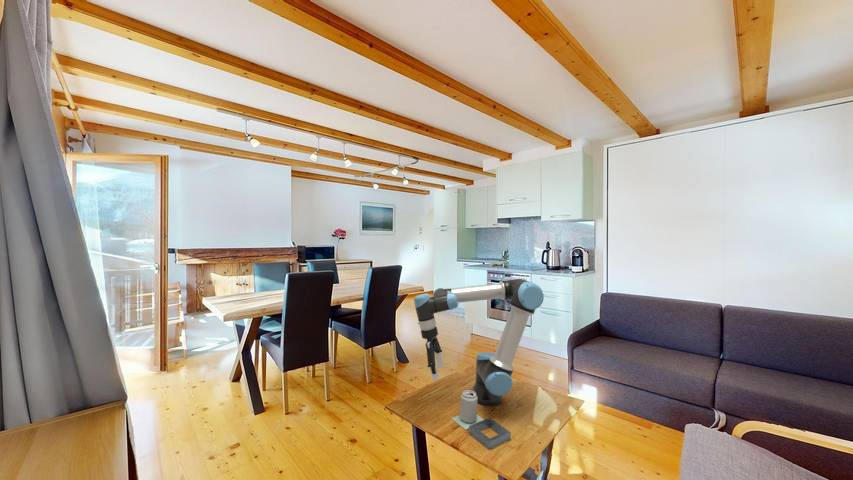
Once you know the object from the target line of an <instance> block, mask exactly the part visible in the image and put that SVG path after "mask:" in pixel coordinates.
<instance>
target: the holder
mask: <svg viewBox="0 0 853 480" xmlns="http://www.w3.org/2000/svg"><path fill="white" fill-rule="evenodd" d="M488 428H490V429H491V430H493V432H495V433H497V434H496V435H495V436H493V437H491V438H489V437H488V436H487V435H486V434H484V433H483V432H482V431H484V430H486V429H488ZM468 433H469V435H470V436H472V437H473V438H474V439H475V440H477V442H479V443H481V444H482V445H483V446H484V447H486V449H488V450H491V449H494V448H497V447H498V446H500V445H502V444H504V443H506V442H508V441H510V440H511V436H512V435H511V434H512V432H511V431H510V430H508V429H507V428H505V427H504V426H503V425H501V424H500V423H498V422H497V421H495V420H494V419H493V418H492V417H488V418H485V419H484V420H483V421H480V422H478V423H475V424H473V425H470V426H469V429H468Z"/></svg>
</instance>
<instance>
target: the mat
mask: <svg viewBox="0 0 853 480" xmlns="http://www.w3.org/2000/svg"><path fill="white" fill-rule="evenodd" d="M451 420H452V421H454V422H455V423H456V424H457V425H458V426H460V427H461V429H463V430H464V431H467V430H469V426H470V425H473V424H475V423H478V422H480V421H483V420H485V419H484V418H483V417H481V416H480V415H478V414H477V420H476V421H474V422H473V423H466V422H464V421H463V420H462V419H461V418H460V414H459V415H455V416H453V417H451Z"/></svg>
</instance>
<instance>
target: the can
mask: <svg viewBox="0 0 853 480" xmlns="http://www.w3.org/2000/svg"><path fill="white" fill-rule="evenodd" d="M477 399H478V397H477V395H476V393H475V392H474V391H472V389H471V390H470V389H468V390H467V389H466V390H463V391H462V393H461V395H460V408H459V410H460V414H459V415H460V418H461V419H462V420H463V421H464V422H466V423H473V422H474V421H476V420H477V415H478V403H477Z"/></svg>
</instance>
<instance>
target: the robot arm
mask: <svg viewBox="0 0 853 480" xmlns="http://www.w3.org/2000/svg"><path fill="white" fill-rule="evenodd" d="M544 297H545V295H544V292H543V290H542V288H541V287H540V285H538V284H536V283H534V282H533V281H532V282H531V281H528V280H526V279H523V278H515V279H507V280H499V282H498V283H489V284H479V285H470V286H462V287H461V286H460V287H451V288H443V287H438V288H437V289H435V290H434V291H433V293H432V296H431V295H430V294H429V293H421V294H417V295H416V296H414V298H413V302H414V306H415V311H416V315H417V319H418V321H417V325H419V329H420V334H421V337H422V339H425V340H426V343H425V348H426V357H427V368H430V369H429V370H430V372H431V377H432V381H433V382H436V381H440V376H439V372H438V368H443V367H444V361H443V357H442V352H443V349H442V348H441V345H440V342H439V339H438V337H437V336H438V335H439V331H438V327H437V323H436V319H435V314H438V313H441V312H445V311H451V310H454V309H457V308H458V307H459V303H469V302H478V301H488V300H495V299H500V300H502V301H507V300H508V301H510V302H509V306H510V311H509V315H508V317H507V320H506V322H505V326H504V328H503V331H502V333H501V335H500V340H499V341H498V345H497V348H496V350H495V352H490V351H483V352H478V353H477V354H476V359H475V361H476V362H475V363H476V364H475V383H474V386H473V389H471V391H474V392H475V393H476V395H477V397H478V399H477V405H478V404H479V405H481V406H485V407H494V406H498V405H500V404H501V403H502V399H503V397H502V396H504V395H507V394H508V393H510V391H511V390H512V389H513V379H512V375H513V372H514V367H513V362H514V359H515V356H516V354H517V351H518V347H519V344H520V343H521V340H522V337H523V334H524V331H525V328H526V325H527V323H528V321H529V318H530V316H532V315H534V314H535V312H536V309H539V308H540V307H541V306H542V305H543V303H544Z"/></svg>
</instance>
